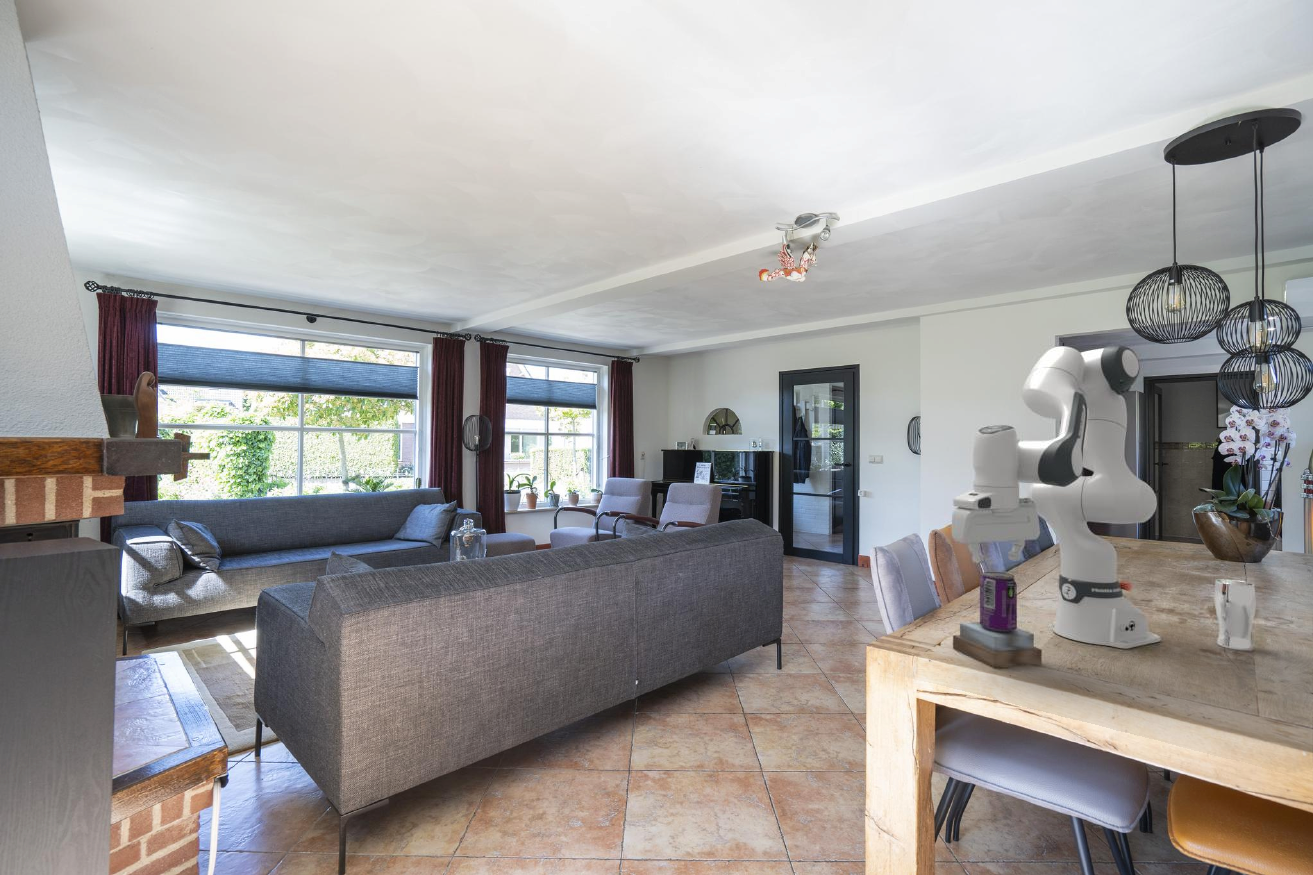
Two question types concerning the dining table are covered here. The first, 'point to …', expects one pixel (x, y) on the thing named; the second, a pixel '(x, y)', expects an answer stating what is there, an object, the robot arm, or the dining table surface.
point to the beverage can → (998, 601)
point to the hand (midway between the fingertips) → (996, 561)
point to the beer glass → (1235, 613)
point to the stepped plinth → (997, 655)
